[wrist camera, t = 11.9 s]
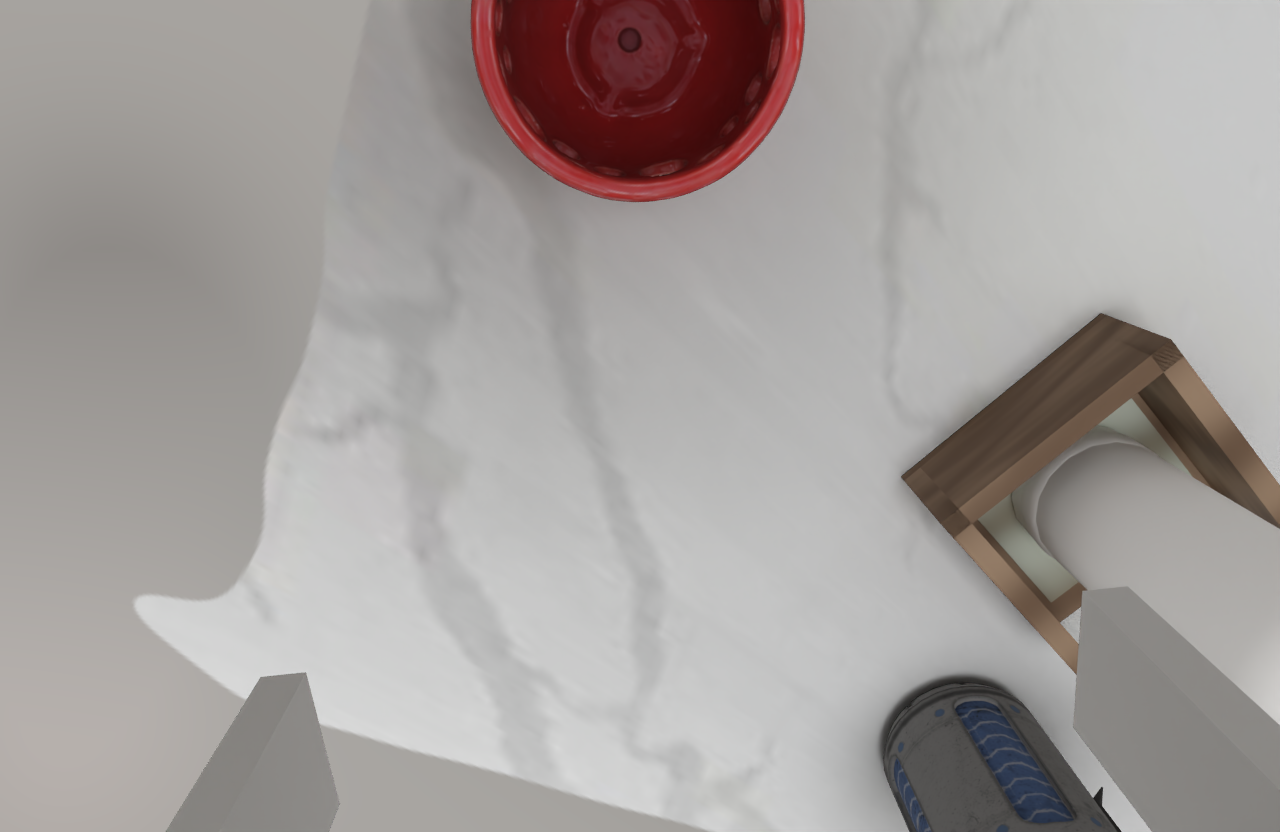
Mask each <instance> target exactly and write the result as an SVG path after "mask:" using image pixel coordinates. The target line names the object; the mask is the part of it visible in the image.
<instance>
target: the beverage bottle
mask: <svg viewBox="0 0 1280 832" xmlns="http://www.w3.org/2000/svg"><path fill="white" fill-rule="evenodd" d="M911 704H912V706H910V707H908V706H907V707H906V708H905V709H904V710H903V711H902V712H901V713H900V714H899V716H898V717H897V719H896V720H895V722H894V723H893V725H892V728H891V730H890V733H889V735H888V738H887V742H886V745H885V751H884V757H883V759H884V771H885V774H886V777H887V780H888V783H889V785H890V788H891V790H892V792H893V795H894V797H895V799H896V802H897V804H898V806H899V808H900V811H901V813H902V815H903V818H904V820H905V822H906V825H907V827H908V829H909V832H1121V830H1120V829H1119V828H1118V826H1117V825H1116V824H1115V822H1114V821H1113V820H1112V819H1111V817H1110V816H1109V815H1108V813H1107V812H1106V811H1105V809H1104V808H1103V807H1102V795H1103V787H1101V789H1100V790H1099V791H1098V793H1097V794H1096V795H1095V796H1094V798H1092V796H1091V795H1090V794H1089V792H1088V791H1087V789H1086V788H1085V787H1084V785H1083V784H1082V783H1081V781H1080V780H1079V778H1078V777H1077V776H1076V774H1075V773H1074V772H1073V770H1072V769H1071V767H1070V766H1069V765H1068V763H1067V762H1066V761H1065V759H1064V758H1063V756H1062V755H1061V754H1060V752H1059V751H1058V750H1057V748H1056V747H1055V745H1054V744H1053V743H1052V741H1051V740H1050V739H1049V737H1048V736H1047V734H1046V733H1045V732H1044V730H1043V729H1042V728H1041V726H1040V725H1039V724H1038V722H1037V721H1036V719H1035V718H1034V717H1033V715H1032V714H1031V713H1030V711H1029V710H1028V709H1027V708H1026V707H1025V706H1024V705H1023V703H1022V702H1020V701H1019V700H1018V699H1016V698H1015V697H1013V696H1012V695H1010V694H1008V693H1006V692H1003V691H1001V690H999V689H996V688H993V687H989V686H985V685H980V684H975V683H963V685H960V684H958V683H956V684H949V685H945V686H942V687H938V688H935V689H932V690H930V691H928V692H926V693H925V694H923V695H921V696H919V697H918V698H916V699H915V700H914V701H912V702H911Z"/></svg>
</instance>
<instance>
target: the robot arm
mask: <svg viewBox="0 0 1280 832" xmlns="http://www.w3.org/2000/svg"><path fill="white" fill-rule="evenodd" d="M1073 728H1074V729H1075V730H1076V732H1077V733H1078V734H1079V736H1080V737H1081V738H1082V740H1083V741H1084V742H1085V743H1086V745H1087V746H1088V747H1089V749H1090V750H1091V751H1092V753H1093V754H1094V755H1095V757H1096V758H1097V759H1098V761H1099V762H1100V763H1101V765H1102V766H1103V767H1104V769H1105V770H1106V771H1107V773H1108V774H1109V775H1110V777H1111V778H1112V779H1113V781H1114V782H1115V783H1116V785H1117V786H1118V787H1119V789H1120V790H1121V791H1122V792H1123V794H1124V795H1125V796H1126V798H1127V799H1128V800H1129V802H1130V803H1131V804H1132V806H1133V807H1134V808H1135V810H1136V811H1137V812H1138V814H1139V815H1140V816H1141V818H1142V819H1143V820H1144V822H1145V823H1146V824H1147V826H1148V827H1149V828H1150V830H1151V831H1152V832H1280V725H1279V724H1278V723H1277V722H1276V721H1275V720H1274V719H1272V718H1271V717H1270V716H1269V715H1268V714H1267V713H1266V712H1265V711H1264V710H1263V709H1262V708H1260V707H1259V706H1258V705H1257V704H1256V703H1255V702H1254V701H1253V700H1252V699H1251V698H1249V697H1248V696H1247V695H1246V694H1245V693H1244V692H1243V691H1242V690H1241V689H1240V688H1239V687H1237V686H1236V685H1235V684H1234V683H1233V682H1232V681H1231V680H1230V679H1229V678H1228V677H1226V676H1225V675H1224V674H1223V673H1222V672H1221V671H1220V670H1219V669H1218V668H1217V667H1216V666H1214V665H1213V664H1212V663H1211V662H1210V661H1209V660H1208V659H1207V658H1206V657H1205V656H1203V655H1202V654H1201V653H1200V652H1199V651H1198V650H1197V649H1196V648H1195V647H1194V646H1193V645H1191V644H1190V643H1189V642H1188V641H1187V640H1186V639H1185V638H1184V637H1183V636H1182V635H1181V634H1179V633H1178V632H1177V631H1176V630H1175V629H1174V628H1173V627H1172V626H1171V625H1170V624H1168V623H1167V622H1166V621H1165V620H1164V619H1163V618H1162V617H1161V616H1160V615H1159V614H1158V613H1156V612H1155V611H1154V610H1153V609H1152V608H1151V607H1150V606H1149V605H1148V604H1147V603H1145V602H1144V601H1143V600H1142V599H1141V598H1140V597H1139V596H1138V595H1137V594H1136V593H1135V592H1133V591H1132V590H1131V589H1130V588H1129V587H1128V586H1125V587H1116V588H1106V589H1097V590H1087V591H1082V604H1081V619H1080V633H1079V648H1078V663H1077V678H1076V692H1075V707H1074V722H1073ZM339 805H340V803H339V799H338V795H337V791H336V787H335V784H334V780H333V776H332V772H331V768H330V764H329V760H328V756H327V752H326V749H325V745H324V741H323V737H322V733H321V729H320V725H319V721H318V717H317V713H316V710H315V706H314V702H313V698H312V694H311V690H310V686H309V682H308V679H307V675H306V672H305V673H296V674H286V675H277V676H267V677H260V679H259V681H258V682H257V684H256V686H255V687H254V689H253V690H252V692H251V694H250V695H249V697H248V699H247V700H246V702H245V703H244V705H243V707H242V708H241V710H240V712H239V714H238V715H237V716H236V718H235V720H234V721H233V723H232V725H231V726H230V728H229V730H228V731H227V733H226V734H225V736H224V738H223V739H222V741H221V743H220V744H219V746H218V748H217V749H216V751H215V752H214V754H213V755H212V757H211V759H210V761H209V762H208V764H207V765H206V767H205V768H204V770H203V772H202V773H201V775H200V777H199V778H198V780H197V782H196V783H195V785H194V786H193V788H192V790H191V791H190V793H189V795H188V796H187V798H186V799H185V801H184V803H183V804H182V806H181V808H180V809H179V811H178V812H177V814H176V816H175V817H174V819H173V821H172V822H171V824H170V825H169V827H168V829H167V830H166V832H329V831H330V828H331V825H332V823H333V820H334V818H335V815H336V812H337V810H338V807H339Z"/></svg>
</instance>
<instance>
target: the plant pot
mask: <svg viewBox="0 0 1280 832" xmlns="http://www.w3.org/2000/svg"><path fill="white" fill-rule="evenodd" d="M804 32H805V13H804V0H472V3H471V39H472V50H473V56H474V61H475V66H476V70H477V74H478V78H479V81H480V83H481V86H482V89H483V92H484V95H485V97H486V99H487V102H488V104H489V106H490V108H491V110H492V112H493V113H494V115H495V117H496V119H497V121H498V122H499V124H500V125H501V127H502V128H503V130H504V131H505V132H506V134H507V135H508V136H509V138H510V139H511V140H512V142H513V143H514V144H515V145H516V146H517V147H518V149H519V150H520V151H521V152H522V153H523V154H524V155H525V156H526V157H527V158H528V159H529V160H531V161H532V162H533V163H534V164H535V165H536V166H538V167H539V168H540V169H542V170H543V171H544V172H546V173H547V174H549V175H550V176H552V177H553V178H555V179H556V180H558V181H560V182H562V183H564V184H566V185H568V186H570V187H572V188H575V189H577V190H580V191H582V192H585V193H587V194H590V195H593V196H596V197H600V198H604V199H609V200H616V201H626V202H649V201H657V200H664V199H670V198H675V197H679V196H682V195H685V194H688V193H691V192H693V191H696V190H698V189H701V188H703V187H705V186H707V185H710V184H711V183H713V182H715V181H717V180H719V179H721V178H722V177H724V176H725V175H727V174H728V173H730V172H731V171H732V170H734V169H735V168H736V167H738V166H739V165H740V164H741V163H742V162H743V161H744V160H746V159H747V158H748V157H749V156H750V155H751V153H752V152H753V151H754V150H755V149H756V148H757V147H758V146H759V145H760V144H761V142H762V141H763V140H764V138H765V137H766V136H767V135H768V134H769V132H770V131H771V129H772V128H773V126H774V125H775V123H776V121H777V120H778V118H779V117H780V115H781V113H782V111H783V109H784V107H785V105H786V103H787V101H788V98H789V96H790V93H791V91H792V88H793V86H794V83H795V80H796V76H797V73H798V70H799V66H800V61H801V56H802V51H803V41H804ZM664 174H666V175H664ZM659 175H662V176H659Z"/></svg>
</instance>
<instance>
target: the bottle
mask: <svg viewBox="0 0 1280 832" xmlns="http://www.w3.org/2000/svg"><path fill="white" fill-rule="evenodd" d="M1012 502H1013V506H1014V510H1015V514H1016V518H1017V519H1018V520H1019V522H1020V523H1021V524H1022V526H1023V527H1024V528H1025V530H1026V531H1027V532H1028V533H1029V534H1030V535H1031V536H1032V537H1033V539H1034V540H1035V541H1036V543H1037V544H1038V545H1039V546H1040V547H1041V549H1043V550H1044V551H1045V552H1046V553H1047V554H1048V555H1049V556H1051V557H1052V558H1054V559H1056V560H1057V561H1058V562H1059V563H1060V564H1061V565H1062V566H1063V567H1064V568H1065V569H1066V570H1067V571H1068V572H1069V573H1070V574H1071V575H1072V576H1073V577H1074V578H1075V579H1077V580H1078V581H1079V582H1080V583H1081V584H1082V585H1083V586H1084V587H1085V588H1086V589H1087V590H1097V589H1106V588H1116V587H1125V586H1128V587H1129V588H1130V589H1131V590H1132V591H1133V592H1135V593H1136V594H1137V595H1138V596H1139V597H1140V598H1141V599H1142V600H1143V601H1144V602H1145V603H1147V604H1148V605H1149V606H1150V607H1151V608H1152V609H1153V610H1154V611H1155V612H1156V613H1158V614H1159V615H1160V616H1161V617H1162V618H1163V619H1164V620H1165V621H1166V622H1167V623H1168V624H1170V625H1171V626H1172V627H1173V628H1174V629H1175V630H1176V631H1177V632H1178V633H1179V634H1181V635H1182V636H1183V637H1184V638H1185V639H1186V640H1187V641H1188V642H1189V643H1190V644H1191V645H1193V646H1194V647H1195V648H1196V649H1197V650H1198V651H1199V652H1200V653H1201V654H1202V655H1203V656H1205V657H1206V658H1207V659H1208V660H1209V661H1210V662H1211V663H1212V664H1213V665H1214V666H1216V667H1217V668H1218V669H1219V670H1220V671H1221V672H1222V673H1223V674H1224V675H1225V676H1226V677H1228V678H1229V679H1230V680H1231V681H1232V682H1233V683H1234V684H1235V685H1236V686H1237V687H1239V688H1240V689H1241V690H1242V691H1243V692H1244V693H1245V694H1246V695H1247V696H1248V697H1249V698H1251V699H1252V700H1253V701H1254V702H1255V703H1256V704H1257V705H1258V706H1259V707H1260V708H1262V709H1263V710H1264V711H1265V712H1266V713H1267V714H1268V715H1269V716H1270V717H1271V718H1272V719H1274V720H1275V721H1276V722H1277V723H1278V724H1279V725H1280V529H1279V528H1277V527H1275V526H1274V525H1272V524H1270V523H1269V522H1267V521H1265V520H1264V519H1262V518H1260V517H1259V516H1257V515H1255V514H1254V513H1252V512H1250V511H1249V510H1247V509H1245V508H1244V507H1242V506H1240V505H1239V504H1237V503H1235V502H1233V501H1232V500H1230V499H1228V498H1227V497H1225V496H1223V495H1222V494H1220V493H1218V492H1217V491H1215V490H1213V489H1212V488H1210V487H1208V486H1207V485H1205V484H1203V483H1202V482H1200V481H1198V480H1196V479H1195V478H1193V477H1191V476H1190V475H1188V474H1186V473H1185V472H1183V471H1181V470H1180V469H1178V468H1176V467H1175V466H1173V465H1171V464H1170V463H1168V462H1166V461H1165V460H1163V459H1161V458H1159V456H1158V455H1157V454H1156V453H1154V452H1153V451H1151V450H1149V449H1148V448H1146V447H1145V446H1143V445H1141V444H1140V443H1138V442H1136V441H1135V440H1133V439H1131V438H1130V437H1128V436H1126V435H1124V434H1120V433H1117V432H1116V431H1114V430H1112V429H1111V428H1108V427H1102V426H1095V427H1094V428H1093V429H1092V430H1090V431H1089V432H1088V433H1086V434H1085V435H1084V436H1083V437H1081V438H1080V439H1079V440H1078V441H1076V442H1075V443H1074V444H1073V445H1071V446H1070V447H1069V448H1067V449H1066V450H1065V451H1064V452H1062V453H1061V454H1060V455H1059V456H1057V457H1056V458H1055V459H1054V460H1052V461H1051V462H1050V463H1048V464H1047V465H1046V466H1045V467H1043V468H1042V469H1041V470H1040V471H1038V472H1037V473H1036V474H1035V475H1033V476H1032V477H1031V478H1030V479H1028V480H1027V481H1026V482H1024V483H1023V484H1022V485H1021V486H1019V487H1018V488H1017V489H1016V490H1014V491H1013V492H1012Z"/></svg>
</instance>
